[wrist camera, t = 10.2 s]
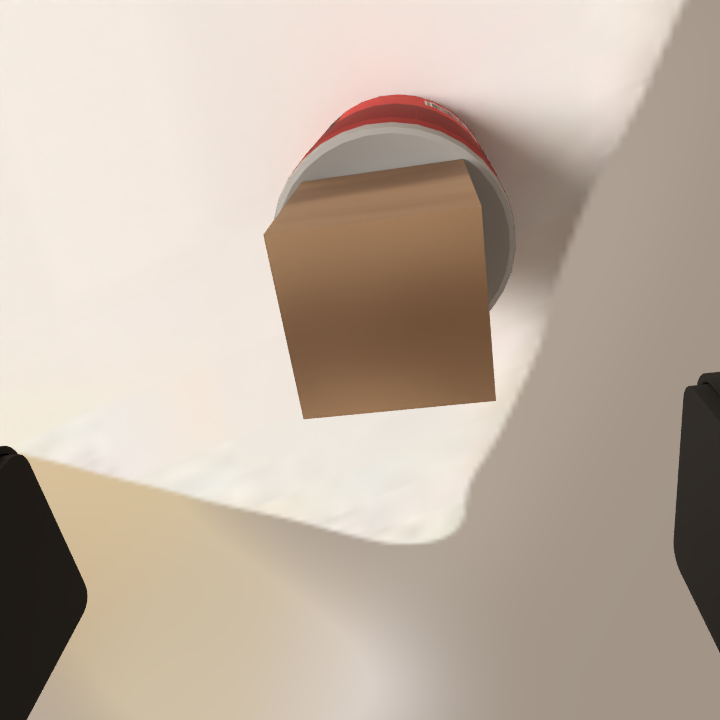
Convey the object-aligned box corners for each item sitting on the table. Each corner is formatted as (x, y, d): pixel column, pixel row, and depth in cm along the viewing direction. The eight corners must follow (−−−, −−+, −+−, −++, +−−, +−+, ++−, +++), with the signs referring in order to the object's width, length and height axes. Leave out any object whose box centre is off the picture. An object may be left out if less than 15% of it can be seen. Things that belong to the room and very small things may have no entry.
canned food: (303, 101, 30) (251, 137, 20) (483, 83, 29) (519, 111, 20) (324, 264, 34) (287, 362, 24) (486, 252, 33) (517, 349, 23)
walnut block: (301, 181, 21) (263, 234, 16) (463, 158, 20) (481, 206, 15) (328, 328, 23) (303, 419, 18) (475, 311, 22) (495, 400, 17)
